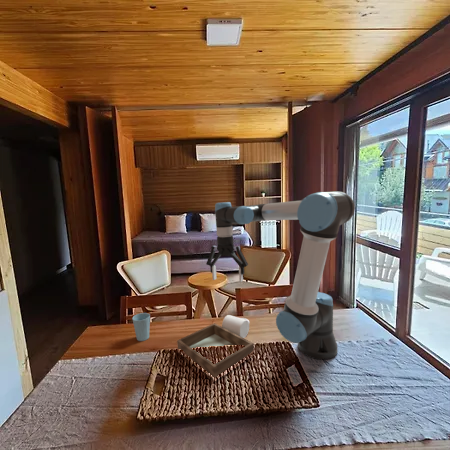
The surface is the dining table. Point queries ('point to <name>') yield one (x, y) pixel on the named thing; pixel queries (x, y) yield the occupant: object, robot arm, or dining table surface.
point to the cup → (142, 326)
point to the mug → (236, 325)
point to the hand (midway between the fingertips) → (227, 280)
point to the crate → (214, 337)
